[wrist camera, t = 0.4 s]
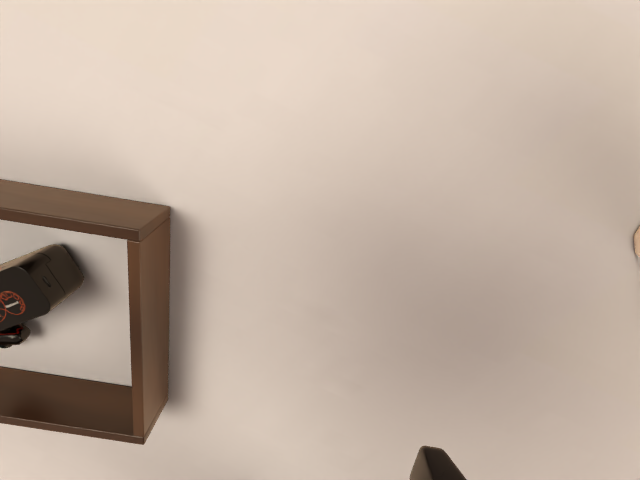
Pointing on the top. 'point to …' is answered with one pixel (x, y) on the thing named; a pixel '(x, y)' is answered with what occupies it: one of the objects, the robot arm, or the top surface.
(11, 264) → the black dial case
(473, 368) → the top surface
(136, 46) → the top surface
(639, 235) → the milkshake
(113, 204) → the desk tray
